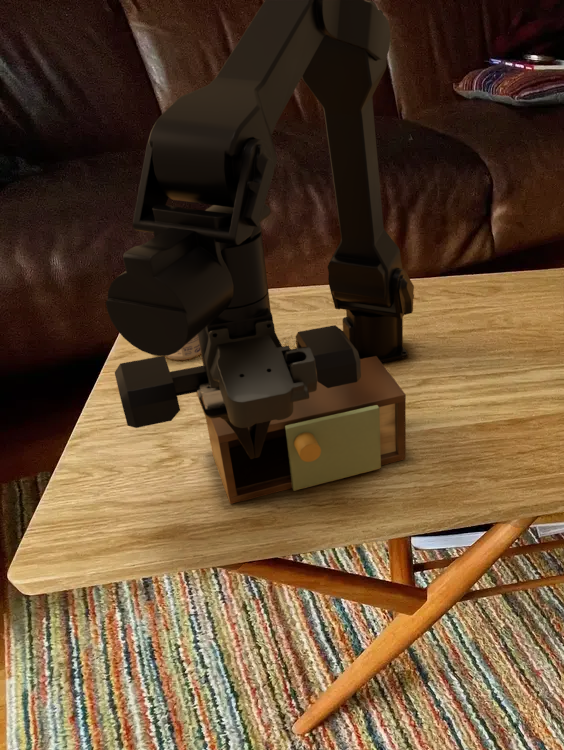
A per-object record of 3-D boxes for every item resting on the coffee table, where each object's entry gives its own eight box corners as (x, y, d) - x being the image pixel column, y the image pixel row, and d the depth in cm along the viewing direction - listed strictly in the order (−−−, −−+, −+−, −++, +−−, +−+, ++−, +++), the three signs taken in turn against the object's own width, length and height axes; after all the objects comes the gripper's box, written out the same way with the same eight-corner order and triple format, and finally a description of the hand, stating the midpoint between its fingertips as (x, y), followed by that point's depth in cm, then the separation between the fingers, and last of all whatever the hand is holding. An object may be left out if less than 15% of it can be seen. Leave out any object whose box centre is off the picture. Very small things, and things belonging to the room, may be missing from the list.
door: (379, 465, 77) (377, 404, 72) (388, 480, 75) (387, 418, 71) (292, 487, 74) (284, 425, 69) (299, 503, 72) (292, 441, 67)
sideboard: (378, 418, 84) (376, 355, 79) (405, 459, 78) (405, 394, 74) (213, 456, 78) (200, 390, 73) (230, 504, 72) (217, 436, 67)
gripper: (110, 366, 48) (157, 543, 58) (383, 317, 55) (386, 483, 64) (94, 294, 56) (137, 460, 66) (334, 259, 63) (343, 414, 72)
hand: (253, 455), depth 67 cm, fingers closed
